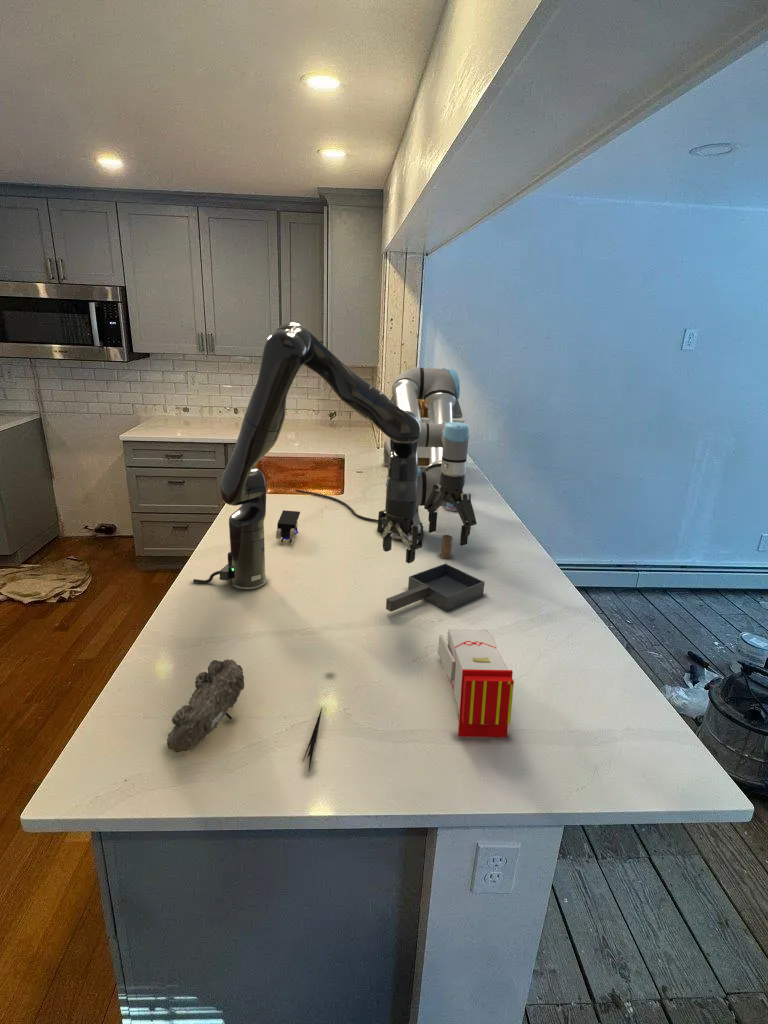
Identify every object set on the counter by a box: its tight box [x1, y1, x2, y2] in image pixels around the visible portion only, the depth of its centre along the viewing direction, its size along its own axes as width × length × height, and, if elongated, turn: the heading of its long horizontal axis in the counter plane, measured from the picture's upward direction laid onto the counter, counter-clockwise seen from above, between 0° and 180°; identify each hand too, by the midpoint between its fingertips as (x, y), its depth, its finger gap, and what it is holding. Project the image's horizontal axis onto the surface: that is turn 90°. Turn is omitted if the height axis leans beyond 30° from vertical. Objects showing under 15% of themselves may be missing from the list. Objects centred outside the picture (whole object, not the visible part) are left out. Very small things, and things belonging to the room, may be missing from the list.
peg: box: [440, 534, 453, 559], centre depth 182 cm, size 3×3×7 cm
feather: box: [301, 673, 332, 771], centre depth 108 cm, size 2×28×2 cm
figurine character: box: [275, 509, 301, 544], centre depth 191 cm, size 7×8×15 cm
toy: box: [437, 628, 515, 738], centre depth 117 cm, size 12×13×30 cm
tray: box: [385, 563, 486, 613], centre depth 155 cm, size 29×15×4 cm, turn 131°
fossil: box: [166, 658, 245, 754], centre depth 106 cm, size 22×10×15 cm
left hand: (398, 556), depth 142 cm, fingers open, 8 cm apart
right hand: (447, 538), depth 181 cm, fingers open, 13 cm apart
